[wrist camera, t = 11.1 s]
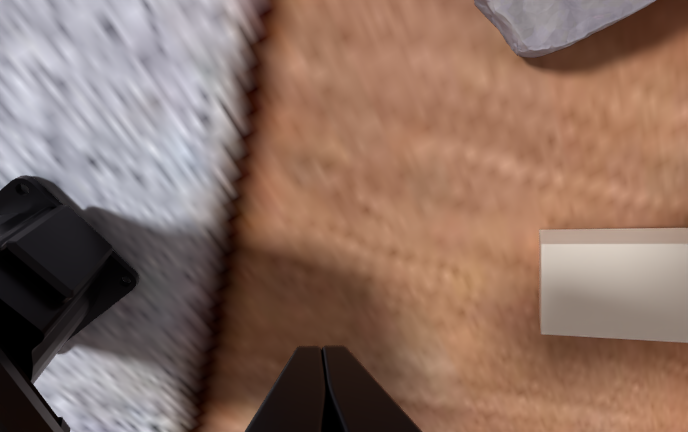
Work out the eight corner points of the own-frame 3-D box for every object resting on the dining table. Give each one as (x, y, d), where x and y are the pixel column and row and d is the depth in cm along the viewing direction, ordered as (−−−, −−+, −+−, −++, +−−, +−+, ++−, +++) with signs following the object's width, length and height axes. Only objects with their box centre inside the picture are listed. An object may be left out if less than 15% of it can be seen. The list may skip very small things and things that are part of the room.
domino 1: (541, 334, 23) (767, 347, 20) (541, 244, 21) (790, 243, 18) (538, 315, 24) (750, 325, 21) (538, 229, 22) (769, 226, 19)
